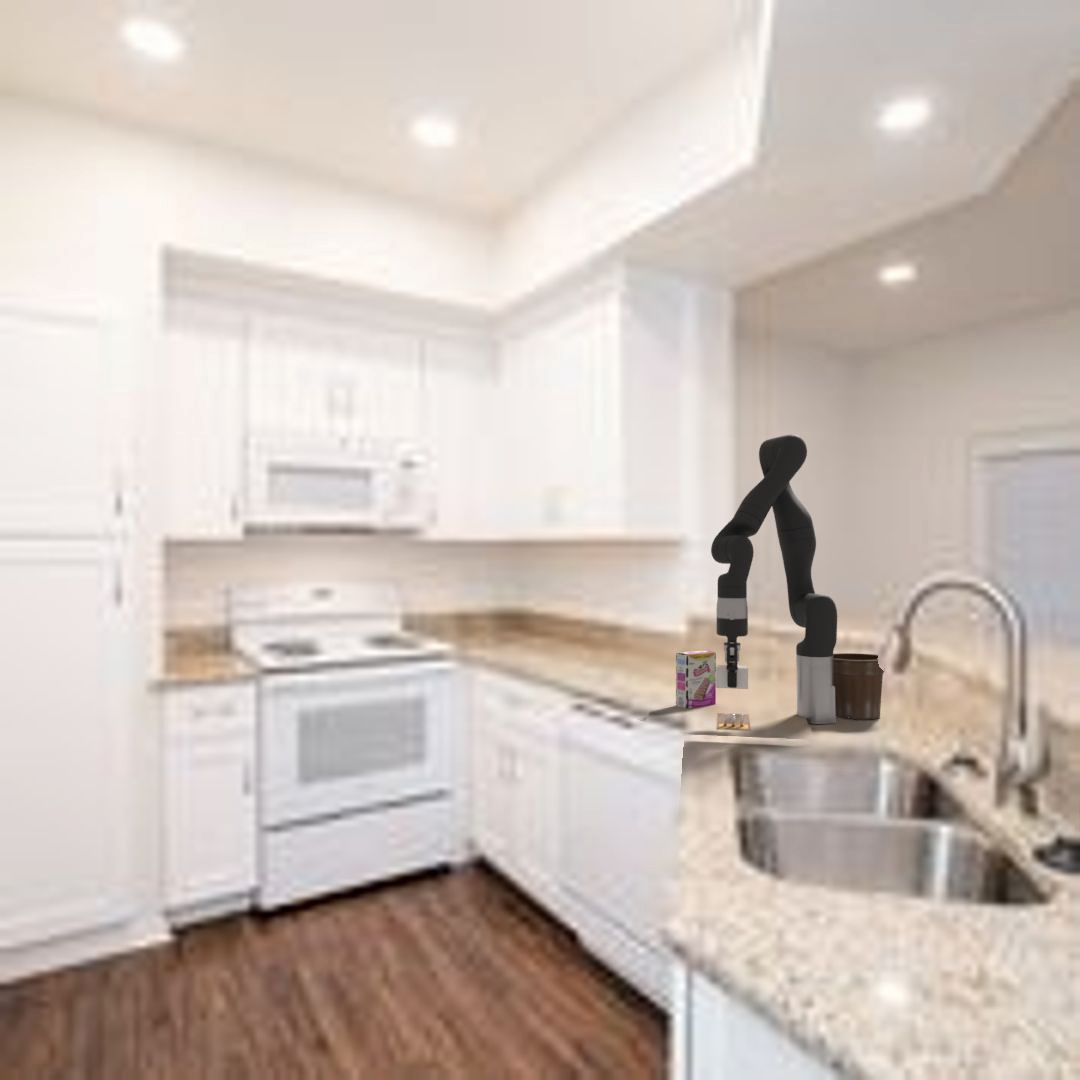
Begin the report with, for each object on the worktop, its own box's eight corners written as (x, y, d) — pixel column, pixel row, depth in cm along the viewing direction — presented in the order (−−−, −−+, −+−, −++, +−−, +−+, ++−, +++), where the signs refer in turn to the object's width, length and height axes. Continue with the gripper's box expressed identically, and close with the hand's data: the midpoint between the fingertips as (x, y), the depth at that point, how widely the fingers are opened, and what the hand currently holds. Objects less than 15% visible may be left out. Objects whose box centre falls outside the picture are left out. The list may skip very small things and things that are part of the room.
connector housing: (716, 687, 197) (716, 667, 197) (716, 685, 201) (716, 664, 201) (748, 689, 195) (748, 668, 195) (747, 686, 199) (747, 666, 199)
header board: (748, 720, 212) (748, 714, 212) (750, 736, 193) (750, 730, 193) (717, 718, 214) (717, 713, 214) (716, 735, 195) (716, 729, 195)
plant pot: (810, 712, 221) (809, 654, 221) (856, 708, 227) (855, 651, 227) (853, 724, 206) (852, 661, 206) (901, 719, 212) (900, 658, 212)
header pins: (743, 726, 197) (743, 714, 197) (743, 727, 197) (743, 714, 197) (723, 725, 199) (723, 713, 199) (723, 726, 198) (723, 714, 198)
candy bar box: (687, 714, 221) (687, 654, 221) (675, 711, 225) (674, 652, 225) (717, 709, 227) (716, 651, 227) (704, 706, 231) (704, 649, 231)
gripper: (717, 613, 206) (717, 680, 206) (715, 618, 192) (715, 689, 192) (747, 614, 204) (747, 682, 204) (748, 618, 190) (748, 691, 190)
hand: (732, 685), depth 198 cm, fingers closed on connector housing, 4 cm apart
